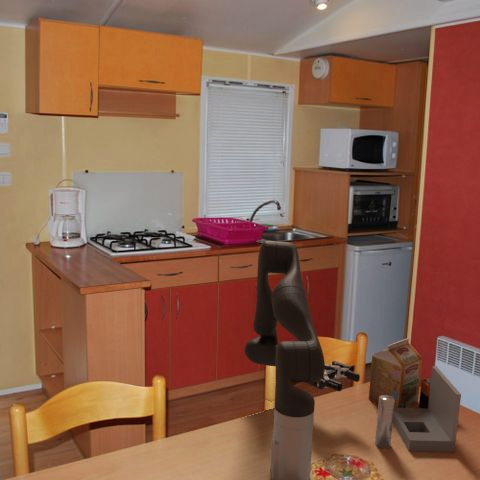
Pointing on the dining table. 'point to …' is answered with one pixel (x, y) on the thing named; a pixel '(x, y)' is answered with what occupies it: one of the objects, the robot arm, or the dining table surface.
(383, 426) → the rod
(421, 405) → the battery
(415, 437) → the grey l-shaped stand
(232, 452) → the dining table surface
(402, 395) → the milk carton
